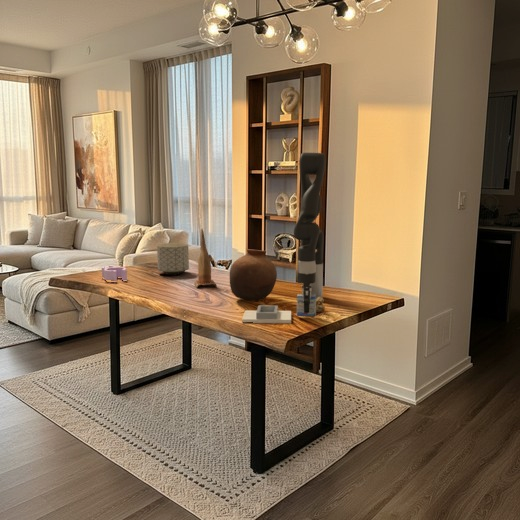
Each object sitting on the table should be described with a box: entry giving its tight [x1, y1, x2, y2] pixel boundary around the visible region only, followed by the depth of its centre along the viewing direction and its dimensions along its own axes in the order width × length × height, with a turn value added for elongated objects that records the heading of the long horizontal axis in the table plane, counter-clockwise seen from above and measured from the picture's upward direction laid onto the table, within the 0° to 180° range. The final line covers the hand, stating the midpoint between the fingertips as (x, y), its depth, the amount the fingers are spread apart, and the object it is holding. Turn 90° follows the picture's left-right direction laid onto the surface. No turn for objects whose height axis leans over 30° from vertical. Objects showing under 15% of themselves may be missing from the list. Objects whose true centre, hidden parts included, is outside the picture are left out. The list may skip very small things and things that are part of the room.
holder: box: [241, 304, 292, 324], centre depth 215 cm, size 14×20×4 cm
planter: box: [156, 242, 190, 275], centre depth 315 cm, size 19×19×18 cm
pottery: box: [229, 248, 278, 302], centre depth 246 cm, size 23×23×25 cm
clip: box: [101, 265, 128, 282], centre depth 300 cm, size 20×12×7 cm, turn 39°
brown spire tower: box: [194, 228, 217, 289], centre depth 278 cm, size 11×12×32 cm
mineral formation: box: [300, 292, 326, 313], centre depth 228 cm, size 8×13×15 cm
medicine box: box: [296, 293, 317, 317], centre depth 214 cm, size 8×4×9 cm, turn 81°
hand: (306, 310), depth 214 cm, fingers closed on medicine box, 4 cm apart
